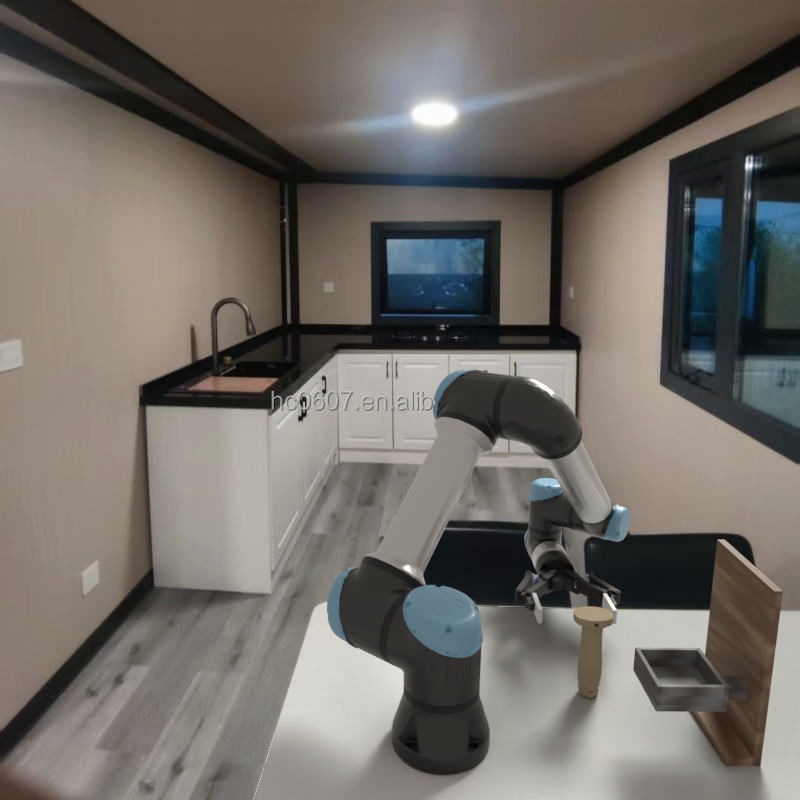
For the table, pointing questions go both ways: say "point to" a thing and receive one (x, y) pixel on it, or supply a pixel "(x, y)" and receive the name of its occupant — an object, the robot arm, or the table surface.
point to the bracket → (723, 662)
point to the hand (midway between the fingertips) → (577, 617)
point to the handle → (591, 647)
